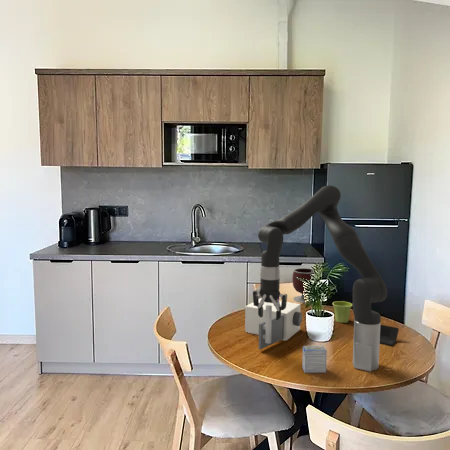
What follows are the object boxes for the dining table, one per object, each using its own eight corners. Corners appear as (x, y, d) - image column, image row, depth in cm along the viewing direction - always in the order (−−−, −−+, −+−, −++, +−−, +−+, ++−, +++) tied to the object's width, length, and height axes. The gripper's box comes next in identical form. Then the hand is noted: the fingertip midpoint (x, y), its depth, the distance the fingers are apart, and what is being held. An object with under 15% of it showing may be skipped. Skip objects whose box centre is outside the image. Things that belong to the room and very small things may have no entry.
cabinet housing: (290, 341, 184) (291, 312, 183) (245, 332, 196) (245, 304, 194) (304, 330, 198) (304, 302, 196) (260, 321, 209) (261, 295, 208)
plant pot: (328, 320, 211) (328, 303, 210) (339, 316, 217) (340, 299, 217) (344, 325, 204) (344, 307, 203) (355, 321, 210) (356, 304, 209)
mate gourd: (291, 302, 242) (291, 267, 239) (293, 295, 255) (293, 262, 253) (319, 304, 238) (320, 268, 236) (319, 297, 251) (320, 263, 249)
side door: (290, 340, 183) (291, 299, 181) (267, 352, 171) (268, 307, 169) (281, 338, 186) (282, 297, 184) (258, 348, 174) (258, 305, 172)
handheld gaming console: (365, 338, 184) (371, 317, 188) (366, 343, 190) (372, 323, 194) (394, 347, 179) (399, 325, 183) (393, 352, 184) (399, 330, 188)
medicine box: (323, 367, 160) (323, 345, 159) (326, 373, 155) (327, 349, 154) (301, 367, 159) (302, 345, 158) (304, 373, 155) (305, 350, 154)
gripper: (290, 277, 170) (289, 318, 172) (256, 273, 176) (256, 312, 178) (284, 281, 163) (283, 323, 165) (249, 276, 170) (249, 318, 172)
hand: (269, 318), depth 172 cm, fingers open, 6 cm apart
